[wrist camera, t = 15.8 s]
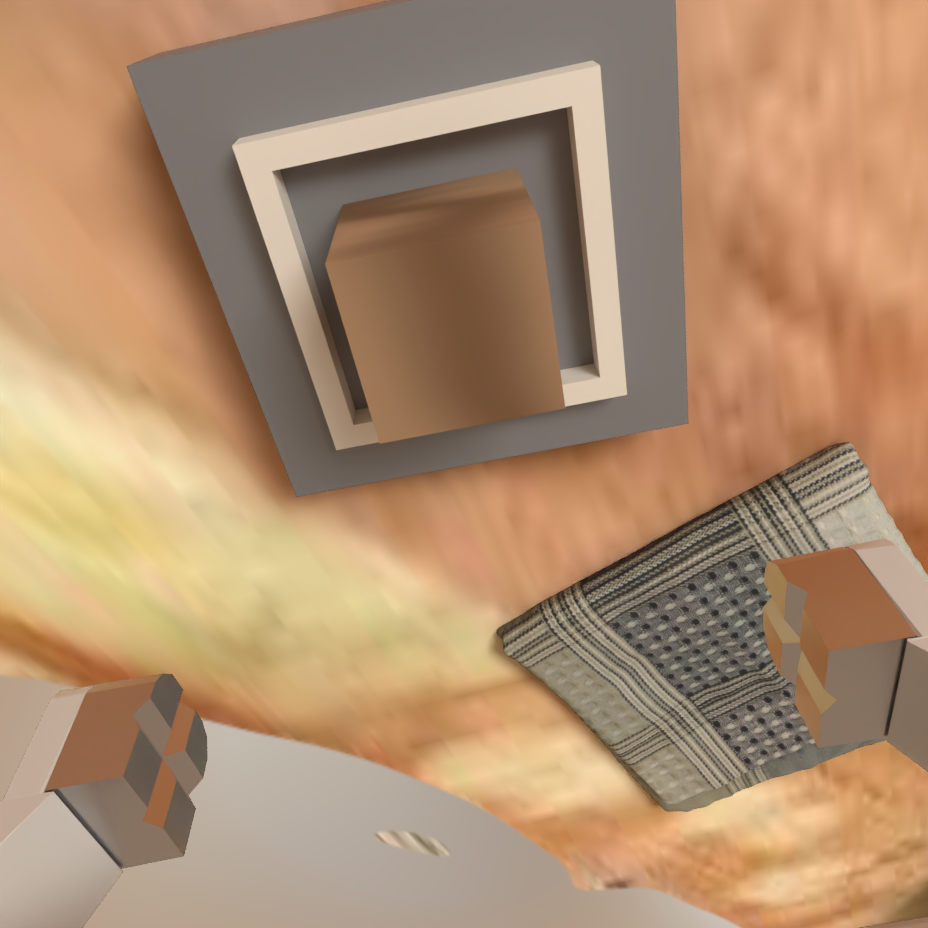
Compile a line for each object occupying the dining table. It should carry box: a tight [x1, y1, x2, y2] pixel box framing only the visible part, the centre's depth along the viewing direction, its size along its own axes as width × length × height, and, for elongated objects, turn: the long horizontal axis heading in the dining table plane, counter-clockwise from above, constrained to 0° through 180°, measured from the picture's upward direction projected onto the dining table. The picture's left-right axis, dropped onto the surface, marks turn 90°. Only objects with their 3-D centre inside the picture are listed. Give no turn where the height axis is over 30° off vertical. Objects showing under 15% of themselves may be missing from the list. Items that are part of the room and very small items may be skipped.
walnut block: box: [325, 168, 565, 444], centre depth 21 cm, size 5×5×5 cm
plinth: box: [126, 0, 688, 497], centre depth 24 cm, size 14×14×4 cm
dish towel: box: [497, 442, 928, 812], centre depth 37 cm, size 19×18×3 cm
